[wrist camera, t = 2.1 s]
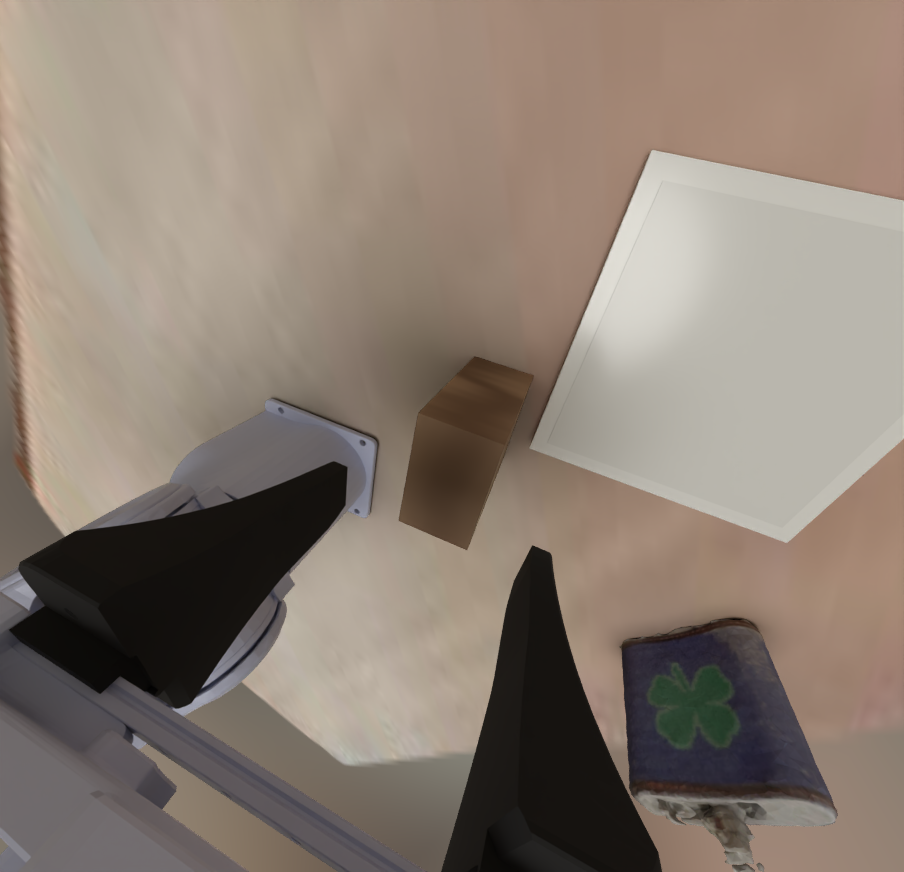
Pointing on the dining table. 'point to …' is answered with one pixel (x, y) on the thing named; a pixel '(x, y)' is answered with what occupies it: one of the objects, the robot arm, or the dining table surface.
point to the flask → (718, 736)
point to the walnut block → (461, 449)
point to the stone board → (738, 345)
